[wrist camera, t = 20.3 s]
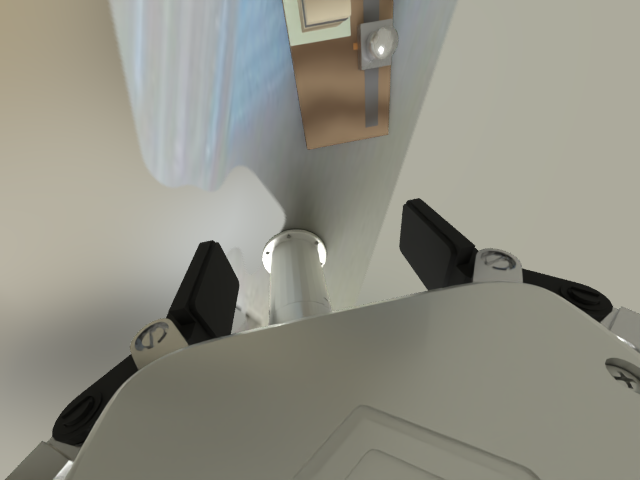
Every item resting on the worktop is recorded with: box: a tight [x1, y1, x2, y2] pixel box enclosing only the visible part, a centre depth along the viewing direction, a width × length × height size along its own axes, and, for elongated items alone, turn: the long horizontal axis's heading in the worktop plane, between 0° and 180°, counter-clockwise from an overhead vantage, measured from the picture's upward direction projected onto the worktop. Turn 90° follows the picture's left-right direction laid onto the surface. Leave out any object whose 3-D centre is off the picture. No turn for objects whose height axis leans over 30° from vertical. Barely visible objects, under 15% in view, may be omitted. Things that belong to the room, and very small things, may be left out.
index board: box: [282, 0, 393, 150], centre depth 28 cm, size 20×12×2 cm, turn 8°
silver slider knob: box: [357, 19, 398, 70], centre depth 25 cm, size 4×4×4 cm
